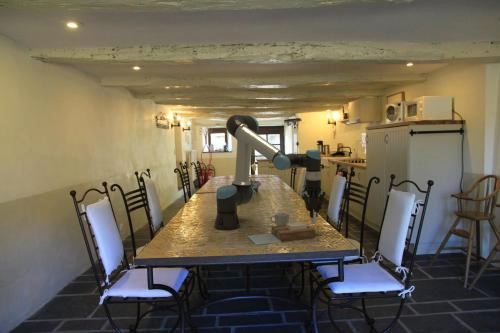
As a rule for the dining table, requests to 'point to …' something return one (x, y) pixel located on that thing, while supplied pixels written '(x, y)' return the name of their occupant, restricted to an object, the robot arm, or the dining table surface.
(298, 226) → the beige flat block
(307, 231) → the block
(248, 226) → the dining table surface
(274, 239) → the mat
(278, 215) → the cup
